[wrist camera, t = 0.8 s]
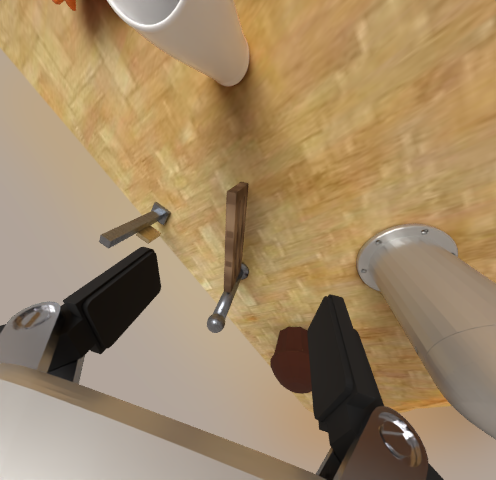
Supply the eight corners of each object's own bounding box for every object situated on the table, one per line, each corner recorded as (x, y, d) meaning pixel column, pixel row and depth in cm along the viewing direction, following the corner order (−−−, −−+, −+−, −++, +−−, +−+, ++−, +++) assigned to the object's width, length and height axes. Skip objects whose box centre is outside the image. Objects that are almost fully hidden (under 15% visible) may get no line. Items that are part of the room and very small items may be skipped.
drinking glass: (217, 104, 24) (130, 58, 11) (195, 41, 22) (51, -108, 9) (264, 78, 22) (220, -19, 9) (244, 4, 19) (145, -276, 7)
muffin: (286, 315, 40) (284, 361, 31) (332, 336, 40) (342, 388, 31) (266, 341, 46) (259, 386, 37) (305, 359, 46) (308, 409, 37)
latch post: (176, 216, 34) (126, 247, 24) (170, 228, 36) (121, 261, 26) (156, 202, 34) (95, 226, 24) (151, 214, 35) (92, 242, 25)
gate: (240, 269, 35) (230, 292, 29) (235, 267, 35) (223, 291, 29) (248, 183, 27) (236, 193, 21) (240, 182, 27) (226, 191, 21)
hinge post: (252, 269, 36) (231, 332, 24) (242, 280, 38) (217, 343, 26) (236, 258, 36) (207, 316, 24) (227, 269, 38) (194, 328, 26)
